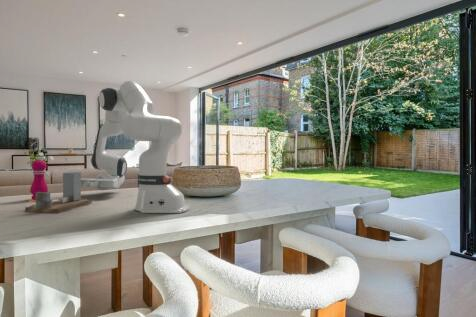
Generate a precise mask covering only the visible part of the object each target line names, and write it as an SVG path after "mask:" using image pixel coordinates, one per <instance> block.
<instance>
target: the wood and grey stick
mask: <svg viewBox="0 0 476 317" xmlns="http://www.w3.org/2000/svg"><path fill="white" fill-rule="evenodd" d="M52 201H53V200H52V199H50V206H52ZM28 203H36V200H31V199H29V200H28Z"/></svg>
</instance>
